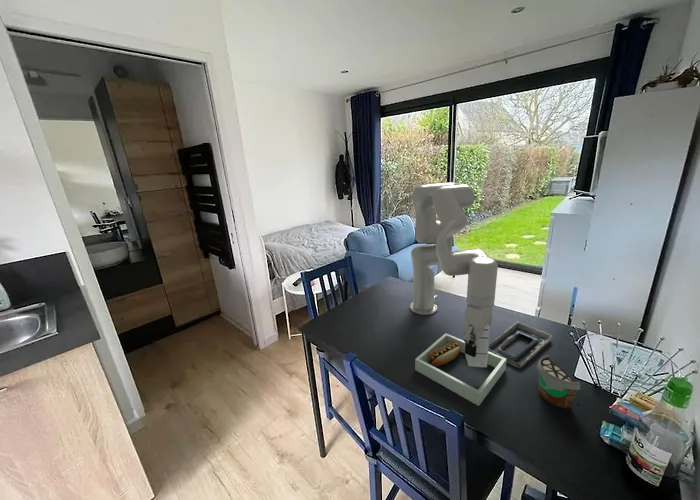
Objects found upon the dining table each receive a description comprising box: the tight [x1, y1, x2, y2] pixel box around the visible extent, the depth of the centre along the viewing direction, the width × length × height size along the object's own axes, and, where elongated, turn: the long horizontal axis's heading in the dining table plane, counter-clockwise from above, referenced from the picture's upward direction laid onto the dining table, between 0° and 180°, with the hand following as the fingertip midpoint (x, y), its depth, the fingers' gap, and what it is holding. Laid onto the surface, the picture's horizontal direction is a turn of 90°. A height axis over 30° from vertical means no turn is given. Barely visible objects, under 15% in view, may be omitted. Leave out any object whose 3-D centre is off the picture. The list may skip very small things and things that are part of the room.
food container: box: [536, 354, 581, 409], centre depth 84 cm, size 12×6×10 cm, turn 5°
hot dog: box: [428, 343, 461, 367], centre depth 102 cm, size 5×13×5 cm, turn 120°
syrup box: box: [464, 324, 491, 368], centre depth 90 cm, size 6×6×14 cm
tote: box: [414, 333, 507, 407], centre depth 97 cm, size 20×22×4 cm
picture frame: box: [488, 321, 553, 369], centre depth 107 cm, size 13×25×3 cm, turn 126°
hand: (476, 348), depth 91 cm, fingers closed on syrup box, 8 cm apart
